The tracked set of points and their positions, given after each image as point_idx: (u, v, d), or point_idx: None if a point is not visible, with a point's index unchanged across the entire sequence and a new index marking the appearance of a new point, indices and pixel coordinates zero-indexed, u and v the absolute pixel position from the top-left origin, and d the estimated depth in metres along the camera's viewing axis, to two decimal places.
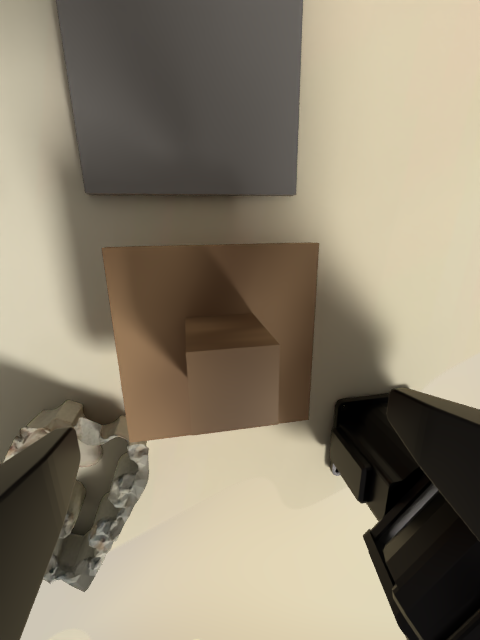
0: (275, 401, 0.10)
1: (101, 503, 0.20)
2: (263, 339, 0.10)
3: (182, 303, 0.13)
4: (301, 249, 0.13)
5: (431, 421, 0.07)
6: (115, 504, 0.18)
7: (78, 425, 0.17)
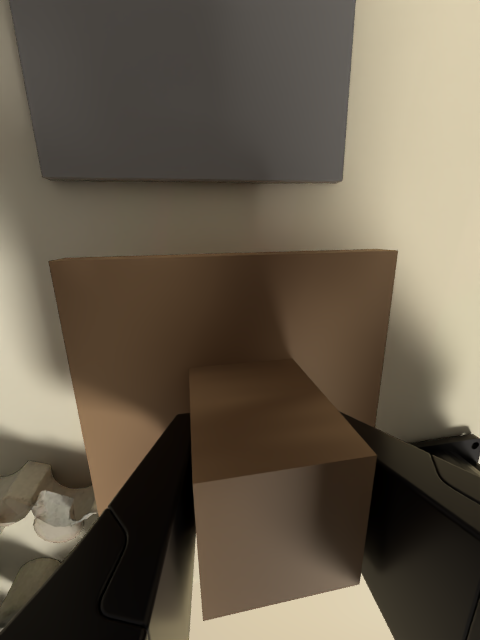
0: (358, 550, 0.05)
1: None
2: (336, 434, 0.05)
3: (184, 347, 0.08)
4: (371, 260, 0.08)
5: None
6: None
7: (39, 502, 0.12)
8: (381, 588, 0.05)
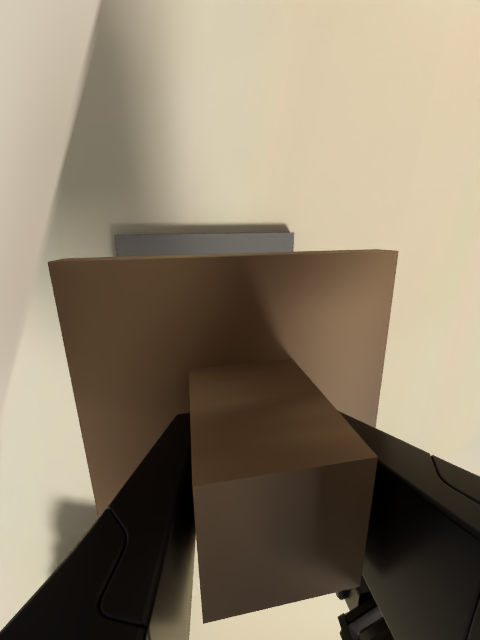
0: (359, 551, 0.05)
1: None
2: (337, 435, 0.05)
3: (184, 347, 0.08)
4: (371, 260, 0.08)
5: None
6: None
7: None
8: (381, 588, 0.05)
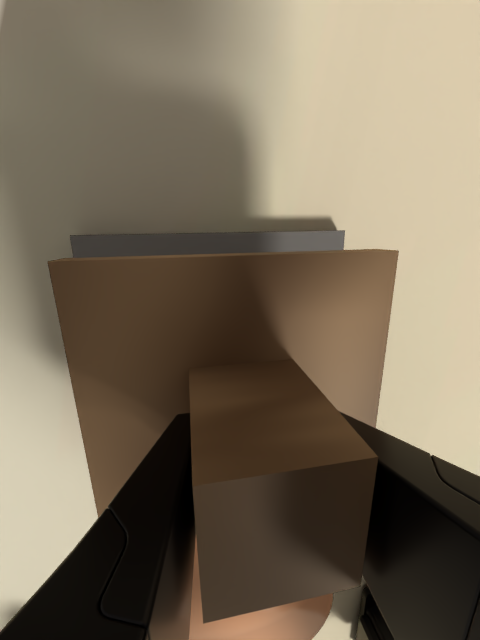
0: (359, 552, 0.05)
1: None
2: (337, 435, 0.05)
3: (184, 347, 0.08)
4: (371, 260, 0.08)
5: None
6: None
7: None
8: (381, 588, 0.05)
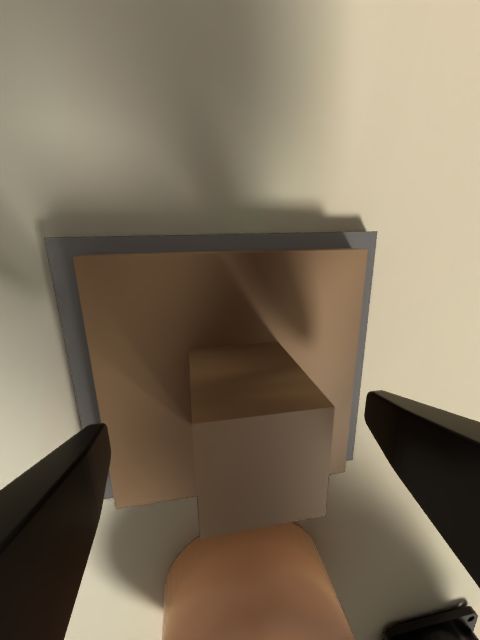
0: (323, 485, 0.07)
1: None
2: (306, 393, 0.07)
3: (185, 330, 0.09)
4: (344, 257, 0.10)
5: (404, 425, 0.07)
6: None
7: None
8: None
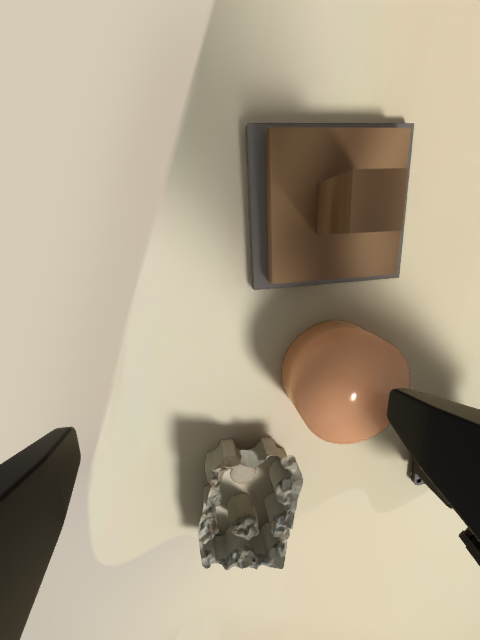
0: (402, 212, 0.15)
1: (267, 504, 0.26)
2: None
3: (317, 172, 0.18)
4: (399, 132, 0.18)
5: (431, 421, 0.07)
6: (284, 503, 0.23)
7: (241, 456, 0.22)
8: None
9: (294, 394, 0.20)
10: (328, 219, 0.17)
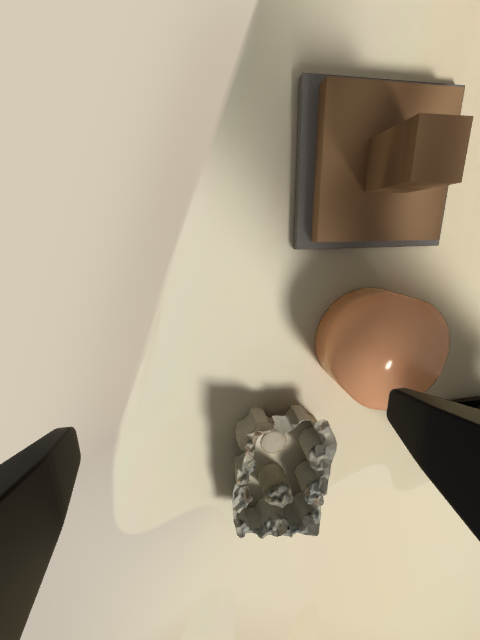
0: (463, 162, 0.15)
1: (298, 473, 0.25)
2: None
3: (369, 126, 0.18)
4: (452, 90, 0.18)
5: (431, 421, 0.07)
6: (317, 468, 0.23)
7: (273, 422, 0.22)
8: None
9: (332, 357, 0.20)
10: (381, 173, 0.17)
